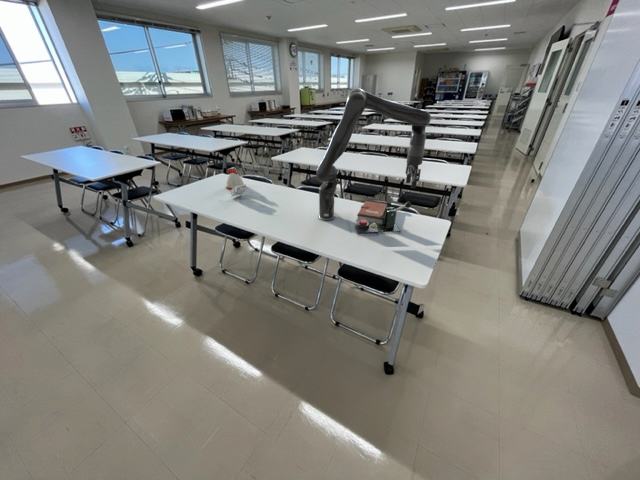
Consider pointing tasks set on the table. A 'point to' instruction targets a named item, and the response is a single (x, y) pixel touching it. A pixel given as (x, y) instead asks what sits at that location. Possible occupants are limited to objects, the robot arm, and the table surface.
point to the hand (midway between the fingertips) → (410, 185)
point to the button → (363, 222)
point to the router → (238, 190)
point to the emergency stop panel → (365, 228)
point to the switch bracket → (389, 221)
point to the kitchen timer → (233, 180)
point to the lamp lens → (373, 225)
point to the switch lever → (403, 206)
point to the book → (373, 211)
